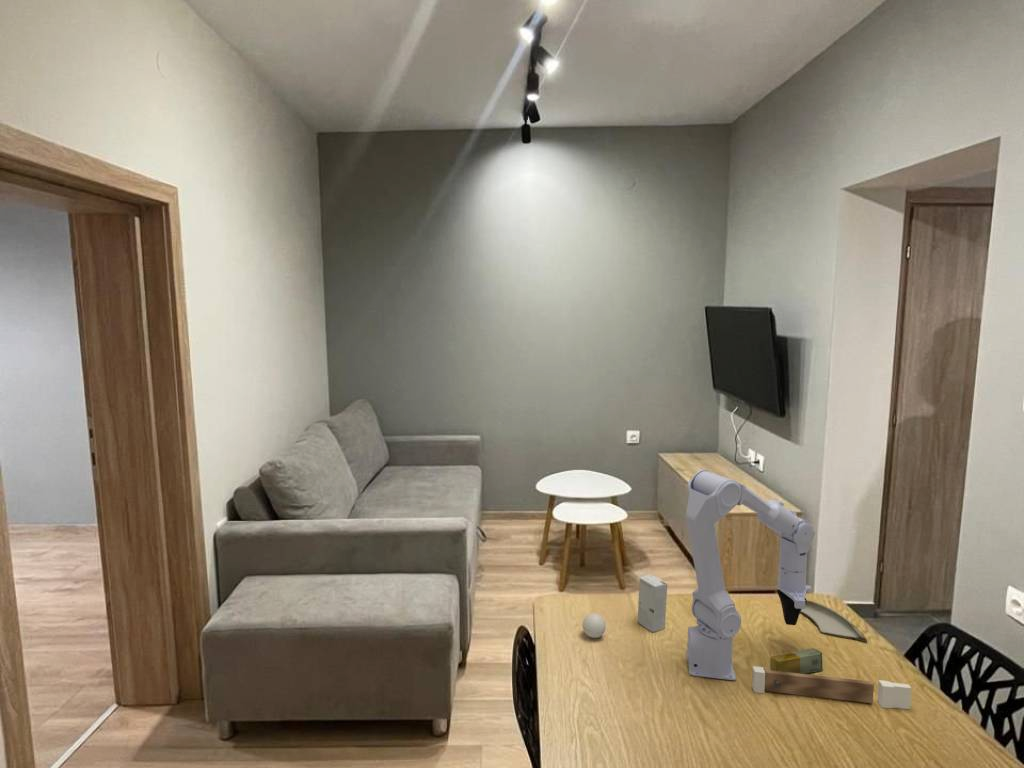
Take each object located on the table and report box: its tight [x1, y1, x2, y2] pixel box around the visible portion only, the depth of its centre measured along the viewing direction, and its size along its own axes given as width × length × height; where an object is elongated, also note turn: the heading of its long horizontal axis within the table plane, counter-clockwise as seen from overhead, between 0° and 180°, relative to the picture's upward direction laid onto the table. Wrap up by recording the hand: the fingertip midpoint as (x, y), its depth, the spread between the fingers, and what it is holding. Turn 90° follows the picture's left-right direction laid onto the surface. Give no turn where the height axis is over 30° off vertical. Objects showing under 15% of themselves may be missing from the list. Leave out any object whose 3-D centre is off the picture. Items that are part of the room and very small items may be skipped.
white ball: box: [575, 612, 607, 639], centre depth 141 cm, size 8×6×6 cm
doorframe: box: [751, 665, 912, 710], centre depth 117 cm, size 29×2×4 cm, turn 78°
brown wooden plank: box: [764, 669, 875, 704], centre depth 117 cm, size 20×2×4 cm, turn 78°
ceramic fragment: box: [799, 599, 868, 643], centre depth 145 cm, size 18×7×5 cm, turn 23°
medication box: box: [769, 647, 824, 674], centre depth 126 cm, size 12×3×4 cm, turn 107°
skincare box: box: [637, 573, 668, 633], centre depth 146 cm, size 6×4×12 cm
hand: (790, 623), depth 134 cm, fingers closed
